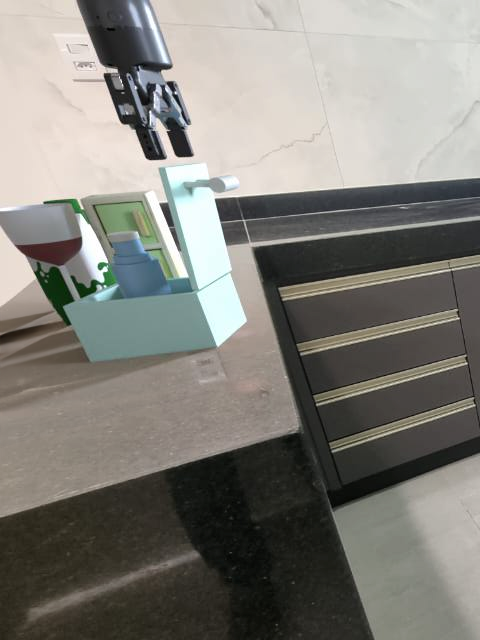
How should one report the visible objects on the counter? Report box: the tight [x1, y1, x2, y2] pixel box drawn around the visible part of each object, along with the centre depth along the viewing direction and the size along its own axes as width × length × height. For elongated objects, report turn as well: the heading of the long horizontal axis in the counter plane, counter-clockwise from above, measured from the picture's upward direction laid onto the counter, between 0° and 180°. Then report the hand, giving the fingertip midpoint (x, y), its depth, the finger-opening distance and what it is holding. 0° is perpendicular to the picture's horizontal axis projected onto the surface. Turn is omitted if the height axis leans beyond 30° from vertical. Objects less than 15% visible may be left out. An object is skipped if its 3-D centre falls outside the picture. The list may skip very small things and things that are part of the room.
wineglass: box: [0, 203, 83, 301], centre depth 83 cm, size 8×9×20 cm
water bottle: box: [107, 231, 172, 299], centre depth 76 cm, size 5×5×16 cm
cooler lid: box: [157, 162, 240, 290], centre depth 76 cm, size 16×12×6 cm
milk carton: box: [25, 198, 117, 327], centre depth 89 cm, size 9×9×20 cm
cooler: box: [63, 272, 248, 363], centre depth 78 cm, size 15×12×9 cm
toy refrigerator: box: [79, 190, 189, 279], centre depth 87 cm, size 8×7×21 cm
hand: (172, 158), depth 76 cm, fingers open, 8 cm apart
